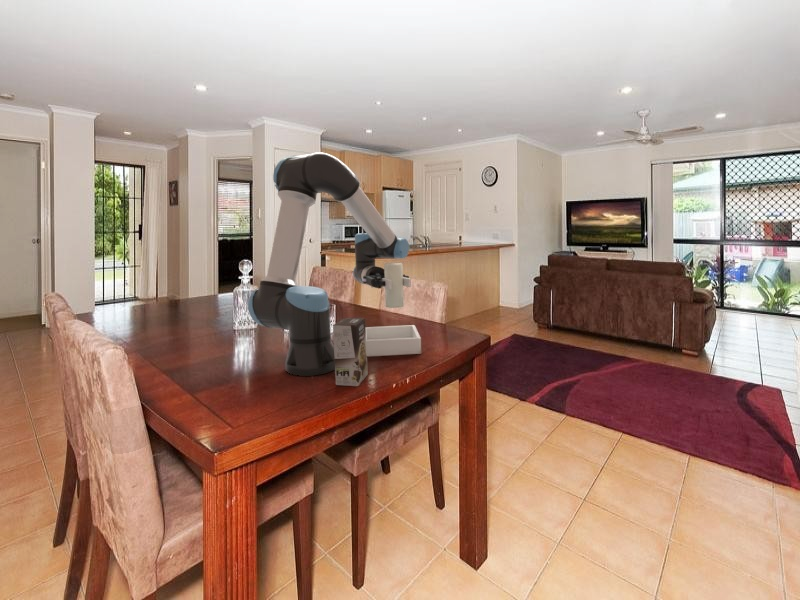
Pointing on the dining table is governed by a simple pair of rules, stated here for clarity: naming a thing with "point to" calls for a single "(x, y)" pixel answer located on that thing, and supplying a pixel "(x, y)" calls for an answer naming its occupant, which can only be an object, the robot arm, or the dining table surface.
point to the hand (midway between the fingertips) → (400, 283)
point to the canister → (394, 285)
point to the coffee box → (350, 351)
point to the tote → (392, 340)
